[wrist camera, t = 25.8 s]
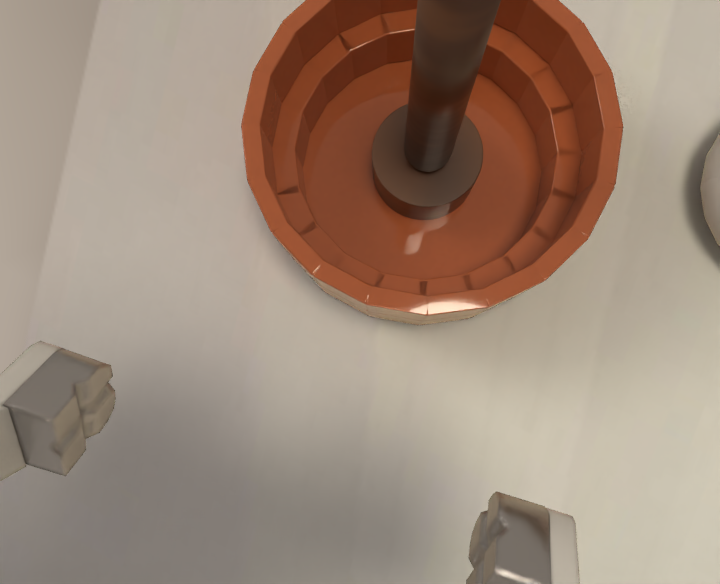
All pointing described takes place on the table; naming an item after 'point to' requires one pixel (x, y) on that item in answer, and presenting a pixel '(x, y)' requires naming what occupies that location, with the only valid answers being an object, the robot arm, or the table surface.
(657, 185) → the table surface
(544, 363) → the table surface
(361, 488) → the table surface
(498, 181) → the bowl
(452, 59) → the wooden tamper
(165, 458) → the table surface
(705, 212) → the donut
